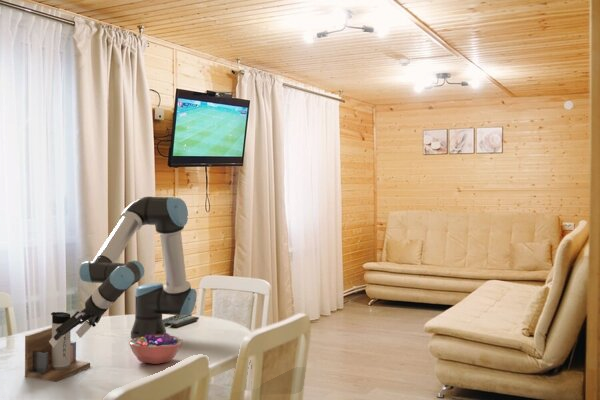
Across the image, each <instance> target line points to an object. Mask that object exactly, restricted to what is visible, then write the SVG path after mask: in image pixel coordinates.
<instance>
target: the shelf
mask: <svg viewBox="0 0 600 400" xmlns="http://www.w3.org/2000/svg"><path fill="white" fill-rule="evenodd" d="M24 338H25V340H24V377H26V378H32V379H38V380H44V381H49V382H50V381H51V382H56V383H57V382H59V381H61V380H63V379H66V378H68V377H70V376H72V375H75V374H76V373H79V372H81V371H83V370H86V369H87V368H88V369H89V368H90V367H91V362H89V361H82V360H77V359H76V361H73V362H71V363H70V367H69V368H68V369H64V370H54V369H52V345H51V344H50V342H49V341H50V339H51V338H52V326H50V327H48V328H44V329H42V330H39V331H35V332H33V333H29V334H26V335H25V336H24ZM35 350H36V351H43V352H48V372H47V373H44V374H42V375H39V374H33V373H28V371H30V370H32V369H33V351H35Z"/></svg>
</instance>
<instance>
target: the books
mask: <svg viewBox="0 0 600 400" xmlns="http://www.w3.org/2000/svg"><path fill="white" fill-rule="evenodd" d="M76 360H77V342H76V341H71V340H70V363H71V362H73V361H76Z"/></svg>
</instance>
